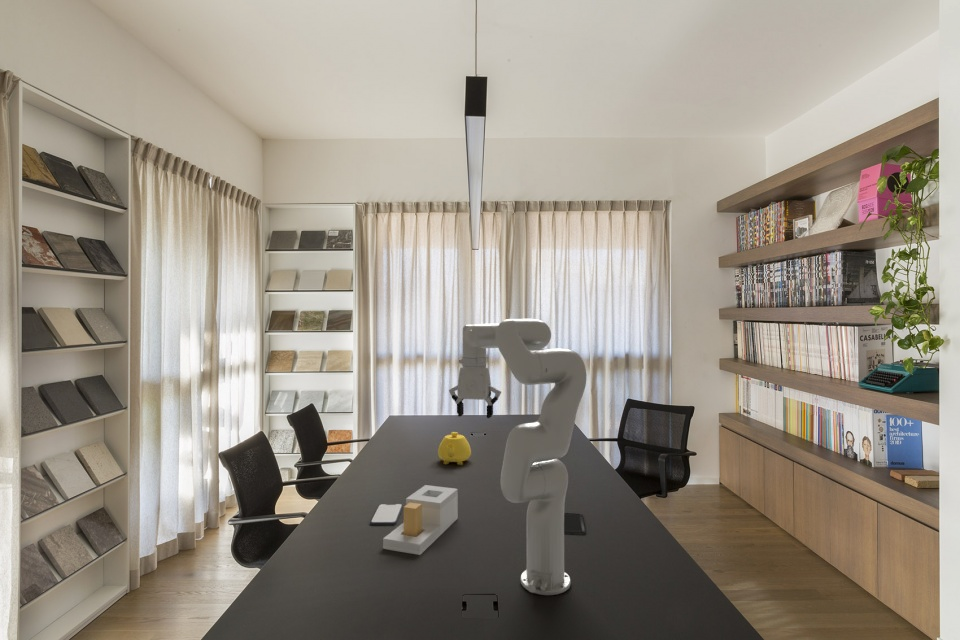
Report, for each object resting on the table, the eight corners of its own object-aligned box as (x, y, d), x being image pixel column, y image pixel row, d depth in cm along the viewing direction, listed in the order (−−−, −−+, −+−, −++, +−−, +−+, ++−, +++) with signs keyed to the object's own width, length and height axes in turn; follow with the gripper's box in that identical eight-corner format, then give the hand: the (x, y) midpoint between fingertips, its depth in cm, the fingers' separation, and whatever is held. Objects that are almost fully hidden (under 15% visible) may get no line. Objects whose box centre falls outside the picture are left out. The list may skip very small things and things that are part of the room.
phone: (582, 513, 174) (585, 532, 159) (582, 517, 174) (585, 535, 159) (559, 512, 175) (560, 530, 160) (559, 516, 175) (560, 534, 160)
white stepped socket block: (420, 555, 146) (419, 520, 146) (383, 548, 150) (383, 514, 150) (457, 518, 172) (457, 488, 172) (425, 513, 176) (425, 485, 176)
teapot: (466, 470, 227) (465, 439, 227) (431, 468, 229) (431, 438, 229) (473, 457, 246) (473, 429, 246) (442, 456, 249) (442, 428, 249)
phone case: (396, 527, 167) (403, 508, 183) (396, 522, 167) (403, 503, 183) (369, 527, 167) (378, 508, 183) (369, 522, 167) (378, 503, 183)
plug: (415, 542, 152) (415, 508, 152) (403, 540, 153) (403, 506, 153) (421, 536, 156) (421, 504, 156) (410, 534, 157) (409, 502, 157)
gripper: (444, 363, 163) (445, 417, 163) (496, 364, 157) (497, 420, 157) (453, 361, 170) (454, 413, 170) (503, 362, 164) (504, 416, 164)
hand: (474, 416), depth 164 cm, fingers open, 9 cm apart
